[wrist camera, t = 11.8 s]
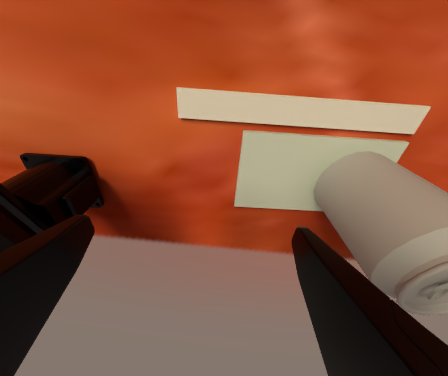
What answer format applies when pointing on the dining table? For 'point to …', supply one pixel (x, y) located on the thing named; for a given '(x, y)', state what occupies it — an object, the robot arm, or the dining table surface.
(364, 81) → the dining table surface
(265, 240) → the dining table surface
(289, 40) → the dining table surface
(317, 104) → the strip
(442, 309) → the can
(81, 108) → the dining table surface
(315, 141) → the pad
